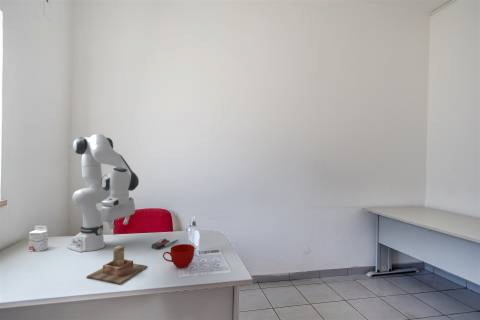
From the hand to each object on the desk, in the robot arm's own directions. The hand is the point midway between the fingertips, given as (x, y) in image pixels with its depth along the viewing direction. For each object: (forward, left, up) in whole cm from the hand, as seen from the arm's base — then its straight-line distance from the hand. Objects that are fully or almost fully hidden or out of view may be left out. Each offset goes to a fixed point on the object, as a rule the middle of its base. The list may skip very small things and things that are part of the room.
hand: (118, 226), depth 134 cm
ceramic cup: (+25, +17, -24) cm, 39 cm away
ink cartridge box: (-69, +9, -24) cm, 74 cm away
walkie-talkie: (-1, +44, -24) cm, 51 cm away
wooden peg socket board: (0, 0, -24) cm, 24 cm away
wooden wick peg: (0, 0, -23) cm, 23 cm away
